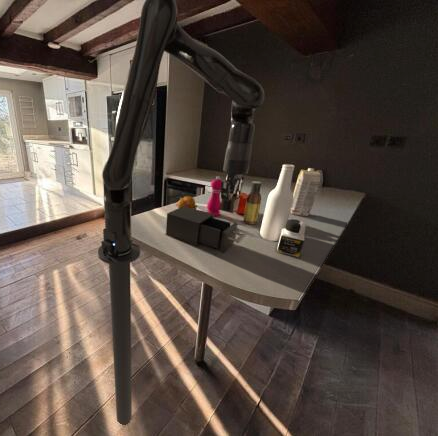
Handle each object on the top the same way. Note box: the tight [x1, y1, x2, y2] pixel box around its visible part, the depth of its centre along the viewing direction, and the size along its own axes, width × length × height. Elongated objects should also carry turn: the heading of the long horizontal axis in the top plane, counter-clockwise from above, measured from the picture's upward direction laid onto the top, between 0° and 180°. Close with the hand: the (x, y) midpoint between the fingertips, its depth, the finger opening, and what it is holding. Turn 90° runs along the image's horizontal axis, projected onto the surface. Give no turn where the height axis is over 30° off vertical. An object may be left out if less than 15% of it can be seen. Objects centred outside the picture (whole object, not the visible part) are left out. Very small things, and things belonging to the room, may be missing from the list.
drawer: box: [198, 217, 247, 253], centre depth 89 cm, size 18×11×8 cm, turn 50°
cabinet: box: [165, 206, 215, 247], centre depth 96 cm, size 15×13×10 cm
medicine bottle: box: [276, 218, 307, 258], centre depth 85 cm, size 7×7×12 cm
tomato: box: [234, 192, 250, 215], centre depth 123 cm, size 14×16×10 cm
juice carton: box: [290, 167, 322, 217], centre depth 120 cm, size 9×8×24 cm
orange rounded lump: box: [176, 195, 199, 210], centre depth 120 cm, size 10×11×10 cm
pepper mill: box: [206, 175, 224, 217], centre depth 117 cm, size 7×7×20 cm
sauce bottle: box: [243, 180, 263, 225], centre depth 108 cm, size 7×6×20 cm
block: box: [219, 196, 240, 214], centre depth 78 cm, size 4×4×4 cm
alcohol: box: [259, 163, 296, 242], centre depth 92 cm, size 9×9×30 cm
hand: (228, 208), depth 79 cm, fingers closed on block, 4 cm apart
